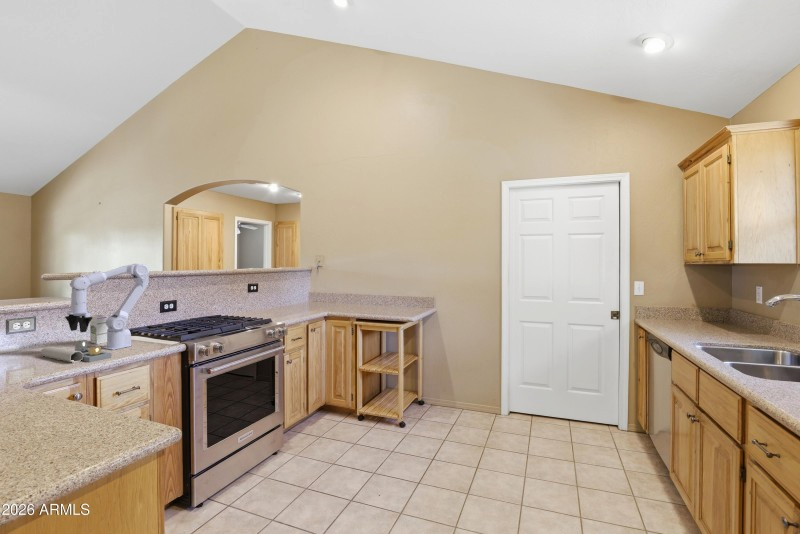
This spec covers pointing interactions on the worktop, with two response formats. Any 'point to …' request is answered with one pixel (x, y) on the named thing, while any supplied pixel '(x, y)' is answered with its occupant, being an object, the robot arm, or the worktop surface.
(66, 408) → the worktop surface
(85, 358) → the jig
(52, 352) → the tube
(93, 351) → the seated bushing
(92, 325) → the syrup box
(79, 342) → the cylinder
